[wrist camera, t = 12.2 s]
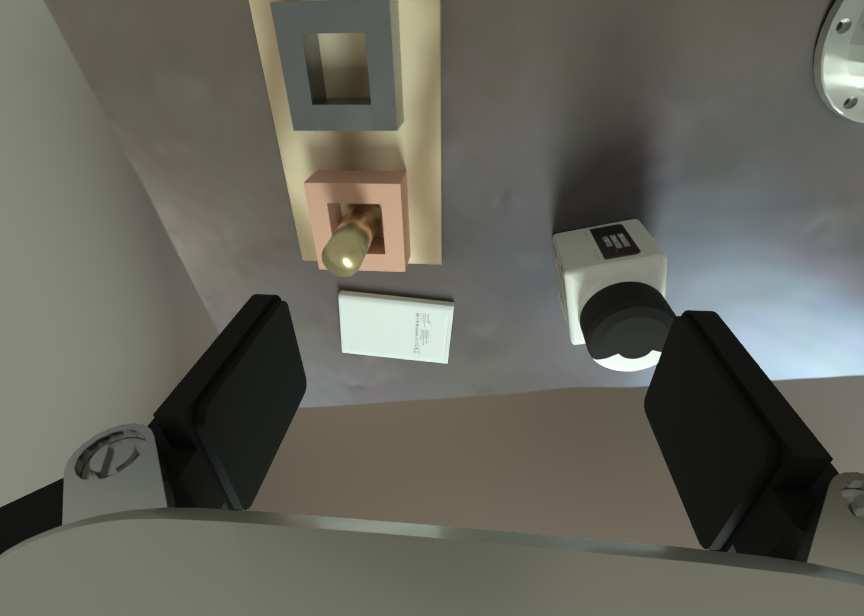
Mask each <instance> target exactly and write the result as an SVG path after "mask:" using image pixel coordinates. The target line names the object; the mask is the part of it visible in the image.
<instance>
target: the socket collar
mask: <svg viewBox="0 0 864 616" xmlns="http://www.w3.org/2000/svg"><path fill="white" fill-rule="evenodd" d="M303 184H304V189H305V195H306V200H307V205H308V211H309V216H310V222H311V227H312V232H313V238H314V243H315V248H316V254H317V259H318V265H319V269H327V268H326V267H325V266H324V264H323V261H322V251H323V249H324V247H325V246H326V244H327V243H328V241H329V240H330V238H331V237H332V235H333V234H334V232H335V231H336V229H337V228H338V226H339V224H340V223H341V221H342V220H343V219H342V212H341V205H340V204H381V208H382V220H383V231H384V238H382V237H374V238H373V240H372V243H371V245H370V247H369V249H368V251H367V253H366V255H365V258H364V260H363V262H362V264H361V266H360V268H359V270H362V271H394V272H406V269H407V265H408V262H409V258H410V255H411V250H410V230H409V210H408V190H407V171H337V170H317V171H316V172H314V173H313V174H312V175H311V176H310V177H309V178H308V179H307V180H306V181H305V182H304V183H303Z"/></svg>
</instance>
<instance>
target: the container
mask: <svg viewBox="0 0 864 616" xmlns="http://www.w3.org/2000/svg"><path fill="white" fill-rule="evenodd" d="M552 240H553V249H554V257H555V266H556V275H557V283H558V292H559V300H560V304H561V307H562V311H563V314H564V318H565V321H566V325H567V329H568V332H569V336H570V339H571V342H572V343H573V344H574V345H578V344H585V343H586V346H587V349H588V352H589V354H590V355H591V357H592V358H593V359H594V360H595V361H596V362H597V363H599V364H600V365H602V366H604V367H606V368H609V369H613V370H618V371H637V370H642V369H645V368H648V367H651V366H653V365H655V364H657V363H658V361H659V358H660V355H661V352H662V350H663V347H664V344H665V341H666V339H667V336H668V333H669V330H670V328H671V325H672V322H673V320H674V318H675V317H676V315H675V314H674V312H673V311H672V309H671V308H670V306H669V304H668V303H667V301H666V276H667V256H666V254H665V253H664V252H663V250H662V249H661V248H660V246H659V245H658V244H657V243H656V241H655V240H654V239H653V238H652V236H651V235H650V234H649V232H648V231H647V230H646V229H645V227H644V226H643V225H642V224H641V222H640V221H639V220H638V219H631V220H626V221H620V222H615V223H610V224H605V225H599V226H594V227H589V228H583V229H578V230H573V231H568V232H562V233H557V234H554V235H553V238H552Z"/></svg>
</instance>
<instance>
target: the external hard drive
mask: <svg viewBox="0 0 864 616" xmlns="http://www.w3.org/2000/svg"><path fill="white" fill-rule="evenodd" d="M453 311H454V302H447V301H438V300H428V299H419V298H409V297H400V296H390V295H381V294H372V293H362V292H352V291H343V290H341V291H340V293H339V314H340V328H341V343H342V352H343V353H352V354H362V355H371V356H381V357H391V358H400V359H409V360H419V361H429V362H438V363H448V355H449V346H450V337H451V328H452V320H453Z"/></svg>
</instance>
